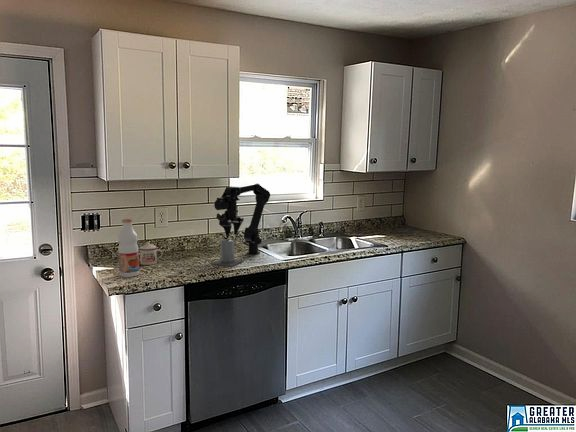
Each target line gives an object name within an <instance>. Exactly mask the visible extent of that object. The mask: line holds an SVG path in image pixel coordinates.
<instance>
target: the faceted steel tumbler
mask: <svg viewBox="0 0 576 432" xmlns="http://www.w3.org/2000/svg"><path fill="white" fill-rule="evenodd" d="M220 259H221V262H222V263H233V262H234V259H235V240H234V239H229V238H224V239H221V240H220Z"/></svg>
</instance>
